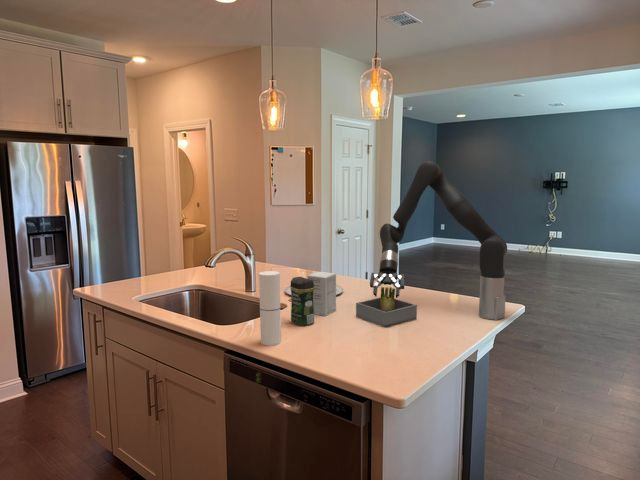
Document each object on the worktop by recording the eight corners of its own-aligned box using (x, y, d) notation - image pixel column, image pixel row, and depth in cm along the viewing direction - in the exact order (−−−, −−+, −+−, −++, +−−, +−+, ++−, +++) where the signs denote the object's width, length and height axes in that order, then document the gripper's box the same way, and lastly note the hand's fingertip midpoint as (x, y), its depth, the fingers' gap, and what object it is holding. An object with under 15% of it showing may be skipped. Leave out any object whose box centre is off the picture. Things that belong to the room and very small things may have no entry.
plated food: (273, 291, 231) (273, 285, 230) (319, 283, 249) (319, 277, 248) (307, 304, 207) (307, 297, 207) (355, 293, 225) (355, 287, 225)
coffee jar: (287, 321, 181) (286, 277, 178) (303, 317, 186) (303, 274, 183) (301, 327, 173) (300, 281, 171) (317, 323, 178) (317, 278, 176)
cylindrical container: (262, 346, 154) (260, 275, 151) (259, 339, 161) (257, 271, 158) (282, 344, 156) (281, 274, 153) (279, 337, 163) (277, 270, 159)
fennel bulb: (377, 314, 185) (379, 286, 184) (385, 312, 189) (387, 284, 187) (388, 317, 181) (390, 289, 180) (396, 315, 185) (398, 287, 183)
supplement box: (318, 307, 200) (318, 271, 198) (336, 310, 196) (336, 273, 193) (307, 313, 192) (306, 275, 190) (325, 316, 187) (325, 277, 185)
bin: (416, 319, 183) (416, 305, 182) (385, 327, 173) (385, 312, 172) (386, 309, 197) (386, 296, 196) (356, 316, 187) (356, 302, 186)
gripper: (371, 257, 190) (367, 290, 181) (405, 259, 187) (403, 292, 178) (373, 267, 196) (369, 299, 187) (405, 269, 193) (403, 301, 183)
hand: (386, 296), depth 182 cm, fingers open, 8 cm apart
